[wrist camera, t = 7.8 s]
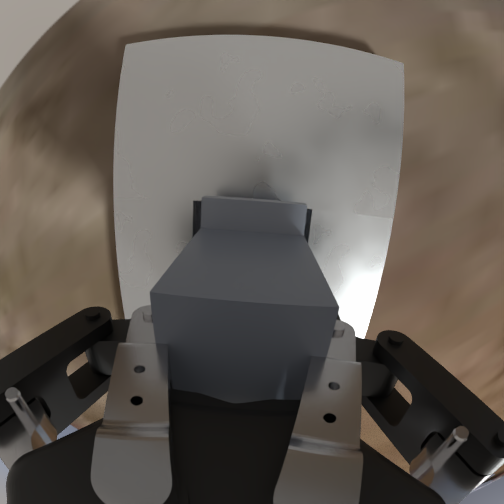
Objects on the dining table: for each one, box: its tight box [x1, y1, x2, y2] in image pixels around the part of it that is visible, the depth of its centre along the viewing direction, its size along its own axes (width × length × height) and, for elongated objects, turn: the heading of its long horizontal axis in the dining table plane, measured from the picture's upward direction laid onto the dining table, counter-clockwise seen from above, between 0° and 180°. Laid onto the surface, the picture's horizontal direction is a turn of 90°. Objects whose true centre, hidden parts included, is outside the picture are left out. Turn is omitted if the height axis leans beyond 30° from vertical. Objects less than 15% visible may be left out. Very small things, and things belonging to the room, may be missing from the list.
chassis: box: [113, 35, 404, 339], centre depth 14 cm, size 14×20×2 cm
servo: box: [150, 195, 339, 403], centre depth 10 cm, size 4×8×8 cm, turn 176°
